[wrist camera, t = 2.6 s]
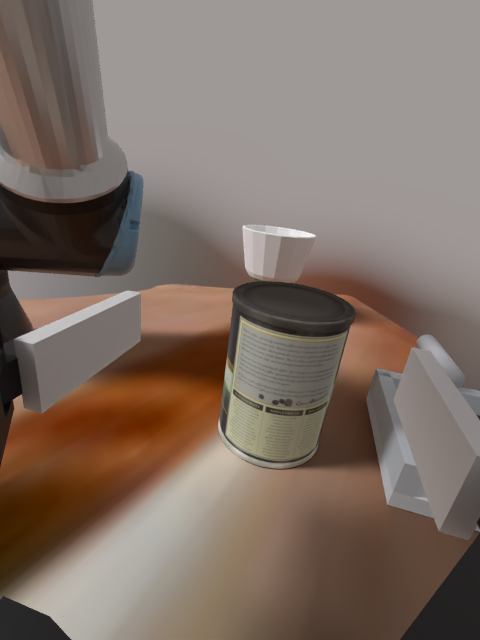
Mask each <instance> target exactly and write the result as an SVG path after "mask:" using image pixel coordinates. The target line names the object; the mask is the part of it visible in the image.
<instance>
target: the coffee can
mask: <svg viewBox="0 0 480 640" xmlns="http://www.w3.org/2000/svg"><path fill="white" fill-rule="evenodd" d="M232 301H233V309H232V318H231V327H230V335H229V343H228V352H227V360H226V369H225V377H224V386H223V394H222V402H221V411H220V417H219V422H218V428H219V433H220V436H221V438H222V440H223V442H224V443H225V445H226V446H227V447H228V448H229V449H230V450H231V451H232V452H233V453H234V454H236V455H237V456H238V457H240V458H242V459H243V460H245V461H247V462H249V463H252V464H254V465H257V466H260V467H266V468H271V469H286V468H292V467H296V466H298V465H301V464H303V463H305V462H306V461H308V460H309V459H310V458H311V457H312V456H313V455H314V454H315V452H316V451H317V448H318V445H319V438H320V434H321V431H322V427H323V423H324V420H325V416H326V413H327V409H328V406H329V402H330V399H331V395H332V391H333V388H334V384H335V381H336V377H337V373H338V370H339V366H340V362H341V358H342V355H343V351H344V348H345V344H346V340H347V337H348V333H349V329H350V325H351V324H352V323H353V321H354V318H355V310H354V308H353V307H352V306H351V305H350V304H349V303H348V302H347V301H345V300H344V299H342V298H340V297H338V296H336V295H333V294H331V293H329V292H326V291H323V290H320V289H316V288H313V287H308V286H304V285H299V284H293V283H286V282H274V281H260V282H251V283H246V284H243V285H240V286H238V287H237V288H235V289H234V291H233V297H232Z"/></svg>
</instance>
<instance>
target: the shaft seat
mask: <svg viewBox="0 0 480 640" xmlns="http://www.w3.org/2000/svg"><path fill="white" fill-rule="evenodd" d="M417 346H418V348H419V349H422V350H427V351H431V352H432V354H433V355H434V357H435V358H436V359H437V361H438V362H439V364H440V365H441V366H442V368H443V369H444V371H445V372H446V373H447V375H448V376H449V378H450V379H451V380H452V382H453V383H454V385H455V386H456V387H457V389H458V390H459V392H460V393H461V394H462V396H463V397H464V399H465V400H466V401H467V403H468V404H469V406H470V407H471V408H472V410H473V411H474V413H475V414H476V415H479V416H480V391H477V390H473V389H468V388H464V387H462V386H463V385H464V383H465V376H464V374H463V373H462V372H461V371H460V369H459V368H458V367H457V365H456V364H455V363H454V362H453V360H452V359H451V358H450V357H449V355H448V354H447V353H446V352H445V351H444V349H443V348H442V346H441V345H440V344H439V343H438V342H437V340H436V339H435V338H434V337H433V336H431V335H423V336H421V337H420V338H419V339H418V340H417ZM401 377H402V374H400V373H396V372H391V371H387V370H382V369H377V368H376V371H375V374H374V377H373V380H372V383H371V386H370V389H369V392H368V395H367V398H366V402H367V407H368V412H369V417H370V422H371V426H372V431H373V436H374V441H375V446H376V451H377V456H378V461H379V466H380V471H381V476H382V481H383V486H384V491H385V496H386V501H387V505H390V506H393V507H397V508H400V509H404V510H407V511H410V512H414V513H417V514H421V515H424V516H427V517H431V518H434V516H433V513H432V511H431V508H430V505H429V502H428V499H427V496H426V493H425V490H424V487H423V484H422V482H421V479H420V476H419V473H418V470H417V467H416V464H415V461H414V458H413V455H412V452H411V450H410V447H409V444H408V441H407V438H406V435H405V432H404V429H403V426H402V423H401V421H400V418H399V415H398V412H397V409H396V406H395V403H394V397H395V394H396V391H397V388H398V385H399V382H400V380H401ZM475 531H479V532H480V529H479V527H478V525H477V527H476V529H475Z"/></svg>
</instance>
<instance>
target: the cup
mask: <svg viewBox="0 0 480 640" xmlns="http://www.w3.org/2000/svg"><path fill="white" fill-rule="evenodd" d="M315 238H316V235H313V234H311V233H307V232H303V231H298V230H293V229H288V228H281V227H274V226H265V225H245V226H243V240H244V255H245V268H246V270H247V272H248V274H249V275H250V276H251V277H252V278H253V279H254V280H257V281H258V282H260V281H274V282H286V283H293V282H295V281H296V280H297V279H298V278H299V277H300V275H301V272H302V270H303V267H304V265H305V263H306V260H307V258H308V255H309V253H310V250H311V248H312V246H313V243H314V241H315Z"/></svg>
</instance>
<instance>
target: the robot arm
mask: <svg viewBox="0 0 480 640" xmlns="http://www.w3.org/2000/svg"><path fill="white" fill-rule="evenodd" d="M142 197H143V178H142V176H141V175H139V174H137V173H134V172H133V171H128V167H127V161H126V157H125V154H124V152H123V151H122V149H121V148H120V147H119V145H118V144H117V143H115V142H114V141H113V140H112V139H111V138H109V137H108V135H107V126H106V117H105V108H104V100H103V90H102V81H101V73H100V65H99V55H98V46H97V38H96V29H95V20H94V12H93V2H92V0H0V466H1V461H2V457H3V453H4V449H5V445H6V440H7V436H8V432H9V428H10V424H11V419H12V415H13V411H14V405H13V399H15V398H16V397H18V396H19V395H21V394H22V397H23V404H24V408H26V409H29V410H33V411H36V412H39V413H43V412H45V411H46V410H47V409H49V408H50V407H51V406H53V405H54V404H55V403H57V402H58V401H60V400H61V399H62V398H64V397H65V396H66V395H68V394H69V393H70V392H72V391H73V390H75V389H76V388H77V387H79V386H80V385H81V384H83V383H84V382H86V381H87V380H88V379H90V378H91V377H92V376H94V375H95V374H96V373H98V372H99V371H101V370H102V369H103V368H105V367H106V366H107V365H109V364H110V363H111V362H113V361H114V360H116V359H117V358H118V357H120V356H121V355H122V354H124V353H125V352H126V351H128V350H129V349H131V348H132V347H133V346H135V345H136V344H137V343H139V342H140V341H141V293H138V292H133V291H125V292H122V293H120V294H118V295H115V296H113V297H111V298H108V299H106V300H104V301H101V302H99V303H97V304H94V305H92V306H90V307H87V308H85V309H83V310H80V311H78V312H76V313H73V314H71V315H69V316H66V317H64V318H62V319H59V320H57V321H55V322H52V323H50V324H47V325H45V326H43V327H40V328H38V329H36V330H33V327H32V324H31V322H30V320H29V318H28V317H27V315H26V313H25V311H24V310H23V308H22V306H21V305H20V303H19V301H18V299H17V298H16V296H15V294H14V292H13V291H12V289H11V287H10V283H9V278H8V271H7V270H11V271H25V272H26V271H27V272H40V273H54V274H69V275H84V276H95V277H100V276H121V275H125V274H127V273H129V272H130V271H131V270H132V268H133V266H134V263H135V258H136V252H137V243H138V235H139V224H140V216H141V207H142ZM394 403H395V406H396V409H397V412H398V415H399V418H400V421H401V423H402V426H403V429H404V432H405V435H406V438H407V441H408V444H409V447H410V450H411V452H412V455H413V458H414V461H415V464H416V467H417V470H418V473H419V476H420V479H421V482H422V484H423V487H424V490H425V493H426V496H427V499H428V502H429V505H430V508H431V511H432V513H433V516H434V519H435V522H436V525H437V528H438V531H439V532H442V533H445V534H448V535H452V536H455V537H458V538H462V539H465V540H468V541H469V539H470V538H471V536H472V534H473V532H474V531H475V529H476V527H477V525H478V527H479V529H480V416H479V415H476V414H475V413H474V411H473V410H472V408H471V407H470V406H469V404H468V403H467V401H466V400H465V399H464V397H463V396H462V394H461V393H460V392H459V390H458V389H457V387H456V386H455V385H454V383H453V382H452V380H451V379H450V378H449V376H448V375H447V373H446V372H445V371H444V369H443V368H442V366H441V365H440V364H439V362H438V361H437V359H436V358H435V357H434V355H433V354H432V352H431V351H427V350H422V349H417V348H411V351H410V354H409V357H408V360H407V363H406V365H405V368H404V371H403V374H402V377H401V380H400V382H399V385H398V388H397V391H396V394H395V397H394ZM0 640H71V639H70V638H69V637H68V636H67V635H66V634H65V633H64V631H63V630H62V629H61V628H60V627H59V626H58V625H57V624H56V623H55V622H54V621H53V620H52V619H51V617H50V616H47V615H45V614H43V613H40V612H38V611H36V610H34V609H31V608H29V607H27V606H24V605H22V604H20V603H18V602H15V601H13V600H11V599H8V598H6V597H4V596H3V597H2V598H1V600H0ZM400 640H480V534H479V535H478V537H477V538H476V539H475V541H474V542H473V543H472V545H471V546H470V547H469V549H468V550H467V551H466V553H465V554H464V555H463V557H462V558H461V559H460V560H459V562H458V563H457V564H456V566H455V567H454V568H453V570H452V571H451V572H450V574H449V575H448V576H447V578H446V579H445V580H444V582H443V583H442V584H441V586H440V587H439V588H438V590H437V591H436V592H435V594H434V595H433V596H432V598H431V599H430V600H429V602H428V603H427V604H426V606H425V607H424V608H423V610H422V611H421V612H420V614H419V615H418V616H417V618H416V619H415V620H414V622H413V623H412V624H411V626H410V627H409V628H408V630H407V631H406V632H405V634H404V635H403V636H402V638H401V639H400Z"/></svg>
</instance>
